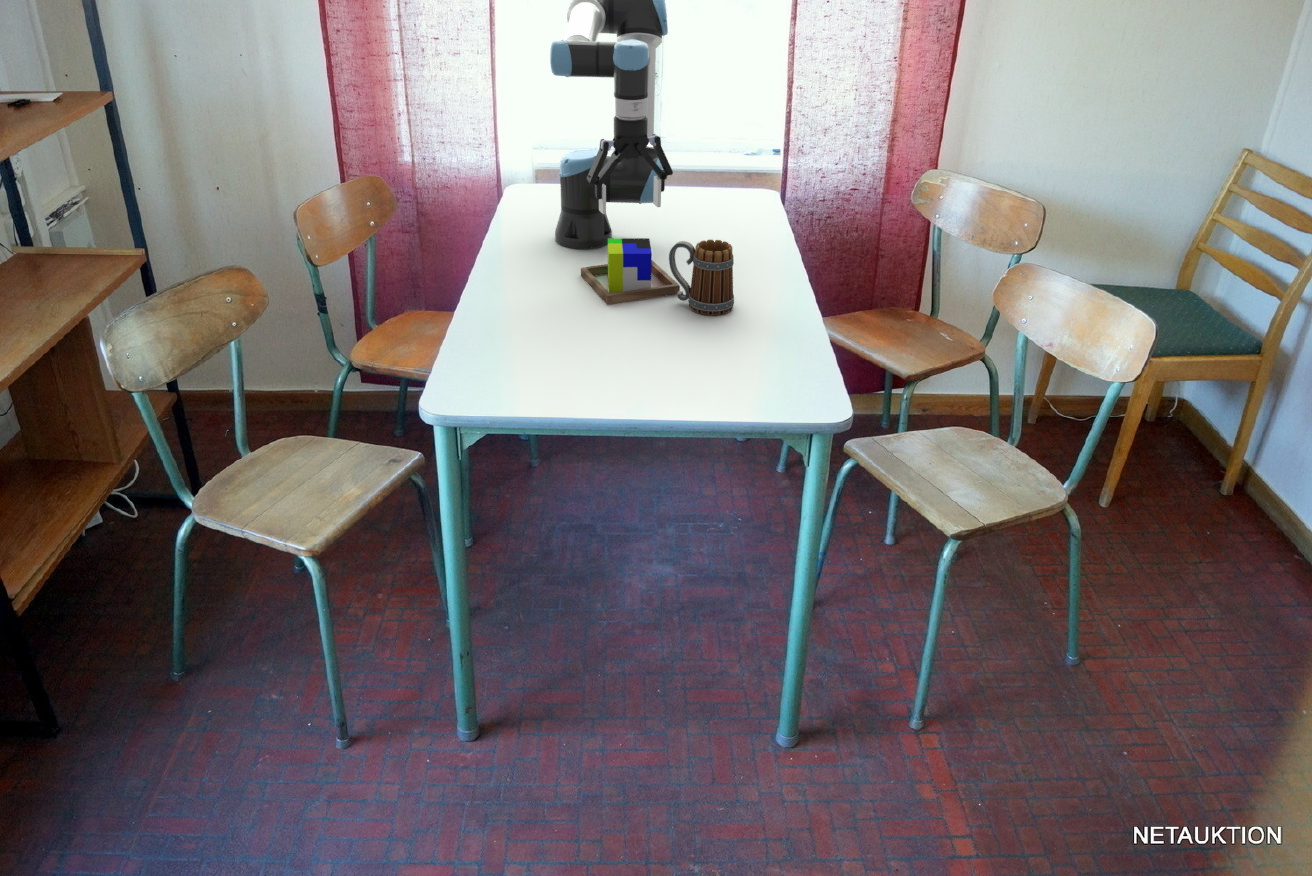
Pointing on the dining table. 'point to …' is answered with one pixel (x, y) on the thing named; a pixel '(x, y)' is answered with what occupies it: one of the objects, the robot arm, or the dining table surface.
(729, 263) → the mug
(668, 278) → the square wooden frame
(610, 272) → the puzzle toy
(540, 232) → the dining table surface
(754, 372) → the dining table surface
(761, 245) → the dining table surface
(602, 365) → the dining table surface
